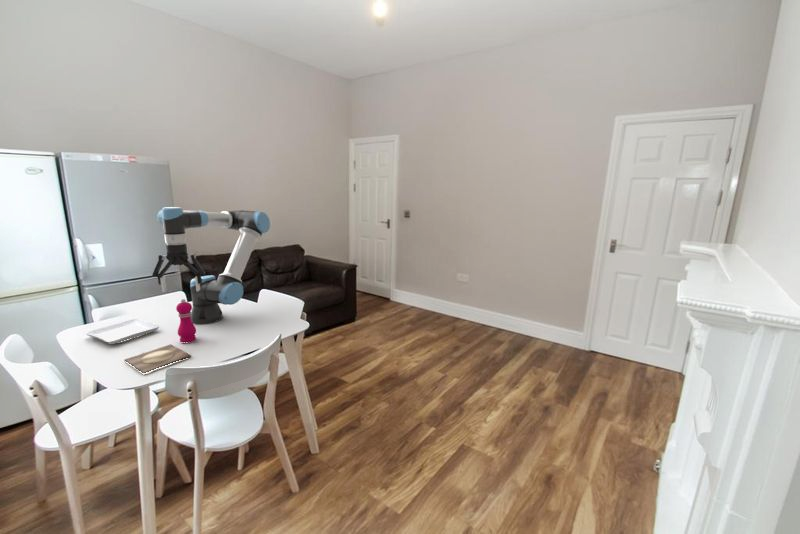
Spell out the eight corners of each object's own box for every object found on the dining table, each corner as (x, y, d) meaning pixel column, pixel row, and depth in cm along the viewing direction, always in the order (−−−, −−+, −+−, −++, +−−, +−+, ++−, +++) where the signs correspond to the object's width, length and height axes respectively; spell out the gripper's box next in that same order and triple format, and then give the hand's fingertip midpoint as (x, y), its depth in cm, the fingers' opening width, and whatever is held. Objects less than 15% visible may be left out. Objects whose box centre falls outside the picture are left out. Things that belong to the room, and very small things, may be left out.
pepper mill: (184, 345, 154) (178, 302, 150) (175, 341, 158) (170, 299, 154) (200, 339, 160) (195, 298, 156) (192, 335, 164) (187, 295, 160)
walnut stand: (124, 362, 139) (124, 358, 139) (171, 346, 153) (170, 343, 153) (143, 375, 130) (143, 371, 130) (191, 357, 144) (190, 354, 144)
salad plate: (136, 323, 177) (135, 317, 177) (161, 332, 168) (160, 325, 168) (85, 339, 159) (84, 332, 158) (110, 349, 150) (109, 342, 149)
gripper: (138, 245, 143) (145, 294, 147) (204, 244, 148) (209, 292, 153) (147, 242, 150) (153, 289, 155) (210, 242, 155) (214, 287, 160)
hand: (181, 291), depth 154 cm, fingers open, 13 cm apart
